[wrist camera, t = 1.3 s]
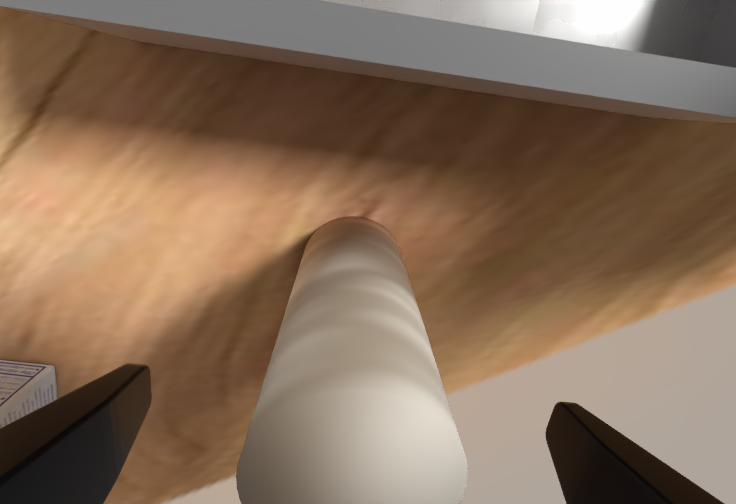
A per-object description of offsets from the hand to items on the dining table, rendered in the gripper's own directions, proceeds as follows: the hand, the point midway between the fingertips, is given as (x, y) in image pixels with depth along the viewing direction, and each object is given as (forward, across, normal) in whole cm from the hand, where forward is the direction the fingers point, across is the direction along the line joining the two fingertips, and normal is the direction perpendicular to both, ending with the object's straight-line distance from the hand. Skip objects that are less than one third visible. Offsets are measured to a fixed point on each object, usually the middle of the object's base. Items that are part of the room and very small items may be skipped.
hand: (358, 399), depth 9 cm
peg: (+8, 0, 0) cm, 8 cm away
